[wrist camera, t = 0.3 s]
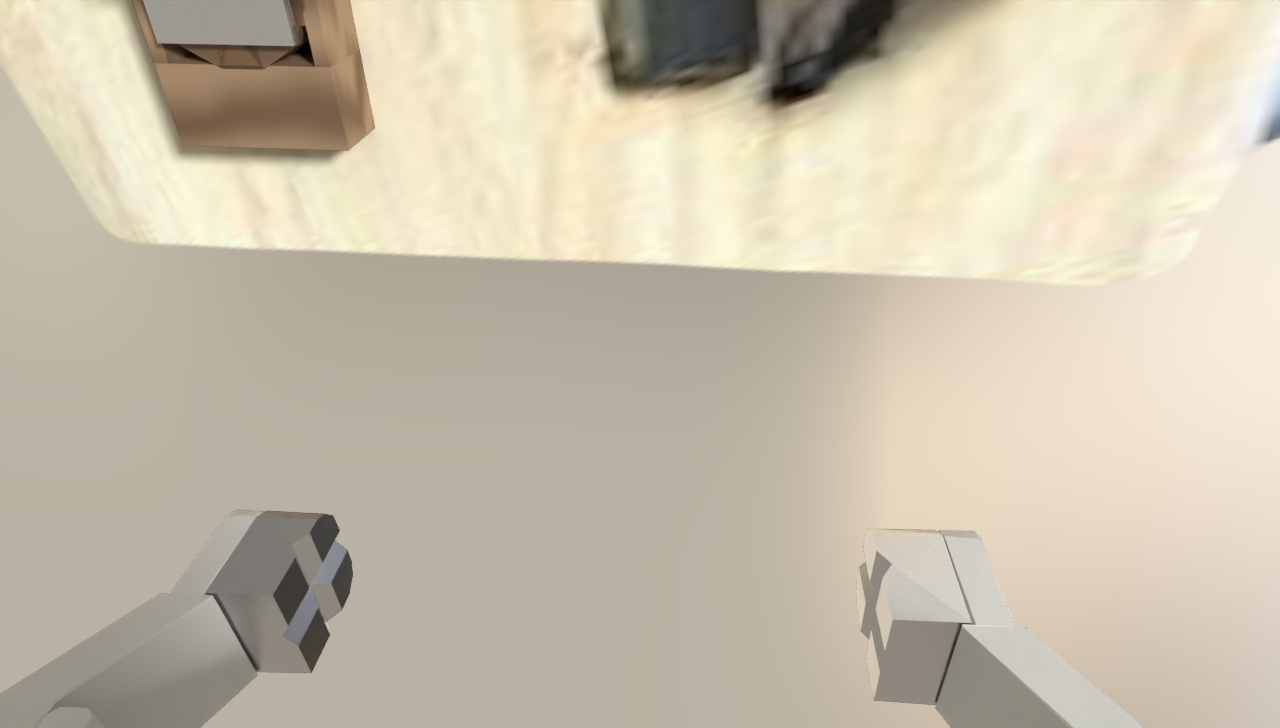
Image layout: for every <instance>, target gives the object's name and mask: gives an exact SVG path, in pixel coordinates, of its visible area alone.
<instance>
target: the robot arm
mask: <svg viewBox="0 0 1280 728" xmlns="http://www.w3.org/2000/svg"><path fill="white" fill-rule="evenodd" d="M339 531H340V530H339V527H338V525H337V523H336V521H335V518H334V516H332V515H328V514H318V513H300V512H282V511H255V510H254V511H253V510H235V511H233V512H231V513H230V514H228V515H226V516H225V518H224V519H223V521H222V522H221V523H220V524H219V526H218V527H217V529H216V530H215V531H214V533H213V534H212V535H211V537H210V538H209V540H208V541H207V542H206V544H205V545H204V547H203V548H202V549H201V551H200V552H199V553H198V555H197V556H196V558H195V559H194V560H193V562H192V563H191V564H190V566H189V567H188V569H187V570H186V571H185V573H184V574H183V576H182V577H181V578H180V580H179V581H178V582H177V584H176V585H175V586H174V588H173V589H172V591H171V592H170V593H159V594H158V595H156V596H155V597H153V598H152V599H150V600H148V601H147V602H145V603H144V604H142V605H140V606H139V607H137V608H136V609H134V610H132V611H131V612H129V613H128V614H126V615H125V616H123V617H121V618H120V619H118V620H116V621H115V622H113V623H112V624H110V625H109V626H107V627H105V628H104V629H102V630H101V631H99V632H98V633H96V634H94V635H93V636H91V637H89V638H88V639H86V640H85V641H83V642H82V643H80V644H78V645H77V646H75V647H73V648H72V649H70V650H69V651H67V652H66V653H64V654H62V655H61V656H59V657H58V658H56V659H54V660H53V661H51V662H50V663H48V664H46V665H45V666H43V667H42V668H40V669H39V670H37V671H36V672H34V673H32V674H31V675H29V676H27V677H26V678H24V679H23V680H21V681H19V682H18V683H16V684H15V685H13V686H11V687H10V688H8V689H7V690H5V691H3V692H2V693H0V728H201V727H202V726H203V725H204V724H205V723H206V722H207V721H208V720H209V719H210V718H212V717H213V716H214V715H215V714H216V713H217V712H218V711H219V710H220V709H221V708H222V707H224V706H225V705H226V704H227V703H228V702H229V701H230V700H231V699H232V698H233V697H235V696H236V695H237V694H238V693H239V692H240V691H241V690H242V689H243V688H244V687H245V686H246V685H248V684H249V683H250V682H251V681H252V680H253V679H254V678H255V677H257V675H258V674H257V672H277V673H278V672H279V673H312V671H313V669H314V667H315V665H316V663H317V661H318V659H319V657H320V655H321V653H322V650H323V648H324V647H325V644H326V642H327V640H328V638H329V636H330V632H329V629H328V626H327V621H328V620H330V619H331V618H332V617H333V616H335V615H336V614H337V613H339V612H340V611H341V610H342V609H343V607H344V605H345V602H346V600H347V598H348V596H349V594H350V587H351V583H352V577H353V570H352V561H351V558H350V555H349V553H348V550H347V549H345V548H344V547H343V546H342V545H340V544H339V543H338V542H336V541H335V539H336V537H337V535H338V533H339ZM863 550H864V555H865V560H866V562H865V563H863V564H862V565H861V566H860V567H859V570H858V577H857V592H856V593H857V594H856V596H857V597H856V602H857V612H858V619H859V625H860V630H861V632H862V633H863V634H864V635H865V636H866V637H867V638H868V639H869V644H868V649H867V654H866V663H867V668H868V673H869V678H870V683H871V688H872V693H873V698H874V701H875V700H876V701H887V702H901V703H914V704H927V705H936V710H937V711H938V712H939V713H940V715H941V716H942V717H943V718H944V720H945V721H946V722H947V723H948V725H949V726H950V727H951V728H1143V727H1142V726H1141V725H1140V724H1139V723H1138V722H1136V721H1135V720H1134V719H1133V718H1132V717H1131V716H1129V715H1128V714H1127V713H1126V712H1125V711H1124V710H1123V709H1121V708H1120V707H1119V706H1118V705H1117V704H1116V703H1114V702H1113V701H1112V700H1111V699H1110V698H1108V697H1107V696H1106V695H1105V694H1104V693H1103V692H1102V691H1100V690H1099V689H1098V688H1097V687H1096V686H1095V685H1093V684H1092V683H1091V682H1090V681H1089V680H1087V679H1086V678H1085V677H1084V676H1083V675H1082V674H1081V673H1079V672H1078V671H1077V670H1076V669H1075V668H1074V667H1072V666H1071V665H1070V664H1069V663H1068V662H1067V661H1065V660H1064V659H1063V658H1062V657H1061V656H1060V655H1058V654H1057V653H1056V652H1055V651H1054V650H1053V649H1051V648H1050V647H1049V646H1048V645H1047V644H1046V643H1044V642H1043V641H1042V640H1041V639H1039V637H1037V636H1036V635H1035V634H1034V633H1033V632H1032V631H1030V630H1029V629H1028V628H1027V627H1018V626H1015V624H1014V622H1013V619H1012V616H1011V614H1010V611H1009V609H1008V606H1007V604H1006V601H1005V599H1004V596H1003V593H1002V591H1001V588H1000V586H999V583H998V581H997V578H996V576H995V573H994V571H993V568H992V565H991V563H990V560H989V558H988V555H987V553H986V550H985V547H984V545H983V543H982V540H981V537H980V536H979V535H978V534H977V533H976V532H975V531H958V530H957V531H955V530H939V531H937V530H921V529H868V530H867V532H866V534H865V537H864V543H863Z"/></svg>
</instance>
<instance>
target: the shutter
mask: <svg viewBox="0 0 1280 728" xmlns="http://www.w3.org/2000/svg"><path fill="white" fill-rule="evenodd" d="M143 2H144V5H145V8H146V11H147V14H148V17H149V20H150V23H151V25H152V28H153V31H154V34H155V37H156V40H157V43H170V44H216V45H262V46H296V45H298V44H300V41H299V37H298V33H297V29H296V25H295V20H294V16H293V12H292V8H291V4H290V0H143Z"/></svg>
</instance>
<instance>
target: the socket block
mask: <svg viewBox="0 0 1280 728" xmlns="http://www.w3.org/2000/svg"><path fill="white" fill-rule="evenodd" d="M132 1H133V4H134V7H135V10H136V13H137V15H138V18H139V21H140V24H141V27H142V30H143V33H144V36H145V39H146V41H147V44H148V47H149V50H150V53H151V56H152V59H153V62H154V65H155V67H156V70H157V73H158V76H159V79H160V82H161V85H162V88H163V91H164V93H165V96H166V99H167V102H168V105H169V108H170V111H171V114H172V116H173V119H174V122H175V125H176V128H177V131H178V134H179V137H180V140H181V142H182V145H187V146H219V147H252V148H284V149H317V150H350V149H351V148H352V147H353V146H354V145H356V144H357V143H358V142H359V141H360V140H361V139H363V138H364V137H365V136H366V135H367V134H369V133H370V132H371V131H372V130H373V129H375V126H374V121H373V115H372V110H371V105H370V100H369V95H368V90H367V85H366V80H365V75H364V70H363V65H362V60H361V54H360V49H359V44H358V39H357V34H356V29H355V24H354V19H353V14H352V9H351V4H350V0H290V4H291V8H292V12H293V16H294V20H295V25H296V29H297V33H298V37H299V41H300V44H298V45H296V46H262V45H216V44H170V43H157V40H156V37H155V34H154V31H153V28H152V25H151V23H150V20H149V17H148V14H147V11H146V8H145V5H144V2H143V0H132ZM309 44H310V46H311V49H303V48H305V47H306V46H307V45H309Z"/></svg>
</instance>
